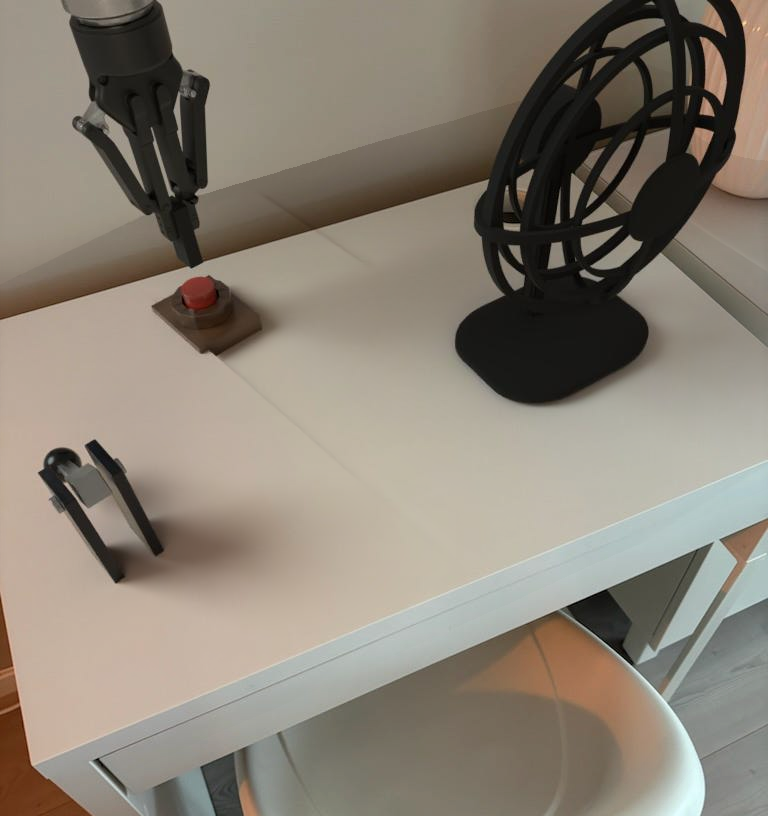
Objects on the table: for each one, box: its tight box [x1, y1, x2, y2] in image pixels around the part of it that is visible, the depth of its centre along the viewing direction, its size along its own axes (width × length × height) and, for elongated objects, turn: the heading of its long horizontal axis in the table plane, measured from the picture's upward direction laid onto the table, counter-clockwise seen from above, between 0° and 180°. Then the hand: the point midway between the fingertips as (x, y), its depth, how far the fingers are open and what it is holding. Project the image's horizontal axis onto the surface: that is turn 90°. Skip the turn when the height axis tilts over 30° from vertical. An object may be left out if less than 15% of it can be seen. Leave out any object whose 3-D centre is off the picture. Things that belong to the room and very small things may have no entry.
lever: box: [42, 446, 113, 509], centre depth 63 cm, size 13×3×3 cm
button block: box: [150, 274, 263, 357], centre depth 85 cm, size 10×8×4 cm
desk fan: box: [454, 0, 747, 404], centre depth 67 cm, size 27×18×35 cm, turn 122°
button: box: [181, 276, 217, 310], centre depth 83 cm, size 4×4×2 cm
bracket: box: [37, 439, 165, 584], centre depth 63 cm, size 12×9×13 cm
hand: (190, 260), depth 79 cm, fingers closed
